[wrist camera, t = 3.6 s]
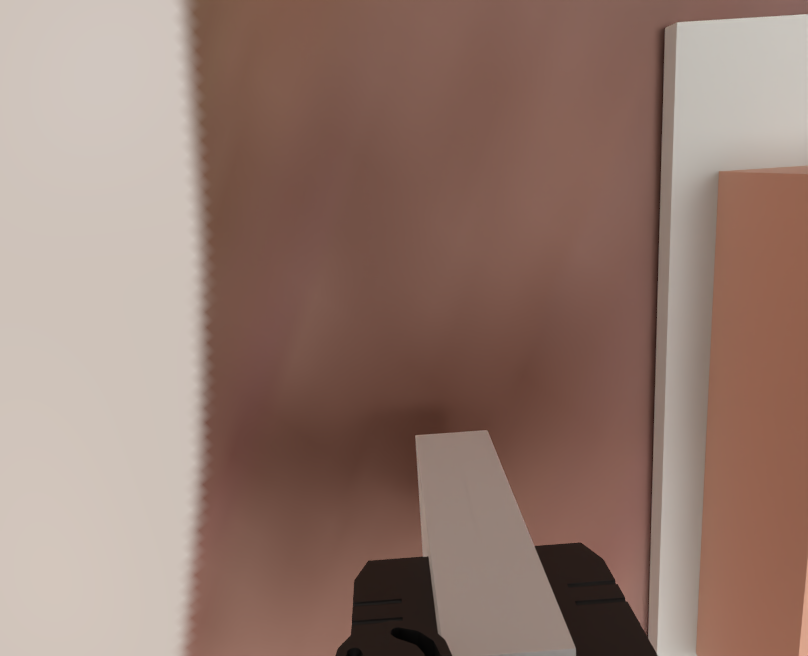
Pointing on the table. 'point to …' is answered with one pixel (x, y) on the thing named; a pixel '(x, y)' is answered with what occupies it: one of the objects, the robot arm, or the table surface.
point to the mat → (706, 262)
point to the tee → (757, 421)
